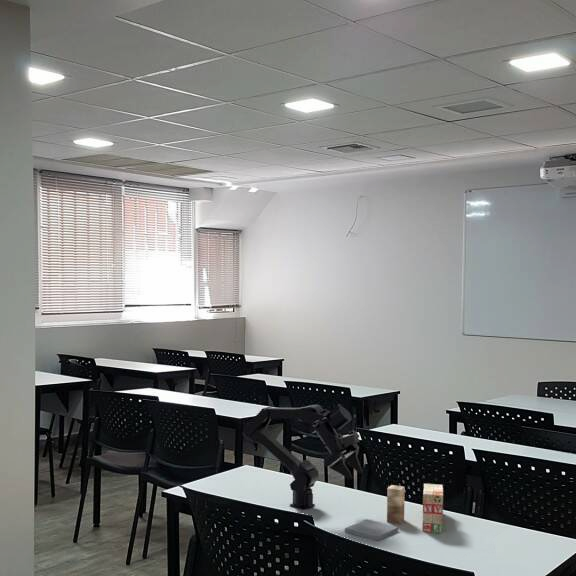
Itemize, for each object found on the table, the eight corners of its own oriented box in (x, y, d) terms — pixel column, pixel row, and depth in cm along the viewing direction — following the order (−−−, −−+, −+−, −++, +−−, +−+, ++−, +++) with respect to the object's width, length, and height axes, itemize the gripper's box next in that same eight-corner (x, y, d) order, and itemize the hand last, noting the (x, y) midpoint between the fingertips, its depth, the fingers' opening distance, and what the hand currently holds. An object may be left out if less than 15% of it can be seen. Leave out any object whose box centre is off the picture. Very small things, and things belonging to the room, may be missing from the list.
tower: (386, 521, 237) (387, 488, 237) (391, 517, 241) (391, 485, 241) (400, 523, 235) (400, 490, 235) (404, 519, 239) (404, 486, 239)
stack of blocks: (423, 512, 248) (424, 476, 248) (442, 513, 247) (442, 477, 247) (422, 532, 227) (422, 493, 227) (442, 533, 226) (443, 494, 226)
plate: (344, 532, 226) (345, 528, 226) (366, 522, 235) (366, 519, 235) (377, 540, 218) (377, 536, 218) (398, 531, 227) (398, 527, 227)
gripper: (335, 428, 237) (363, 468, 232) (356, 419, 254) (383, 456, 249) (311, 447, 241) (339, 487, 236) (333, 437, 257) (359, 474, 253)
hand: (356, 475), depth 243 cm, fingers open, 9 cm apart
